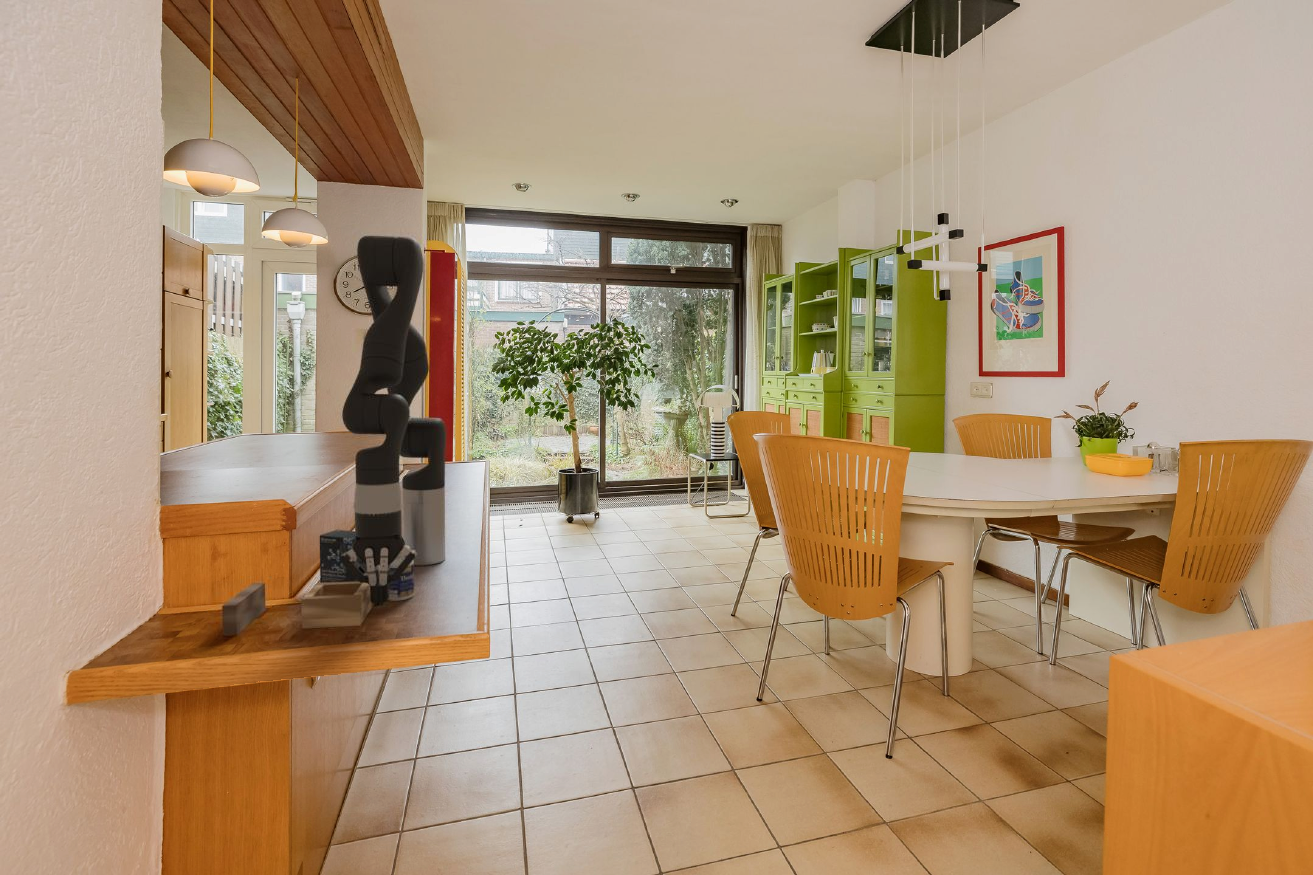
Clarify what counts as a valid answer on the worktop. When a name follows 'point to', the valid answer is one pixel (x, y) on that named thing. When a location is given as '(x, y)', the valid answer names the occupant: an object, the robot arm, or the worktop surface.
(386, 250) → the robot arm
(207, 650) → the worktop surface
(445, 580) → the worktop surface
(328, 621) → the light brown wooden tray
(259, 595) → the plank
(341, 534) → the box
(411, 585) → the pill bottle
